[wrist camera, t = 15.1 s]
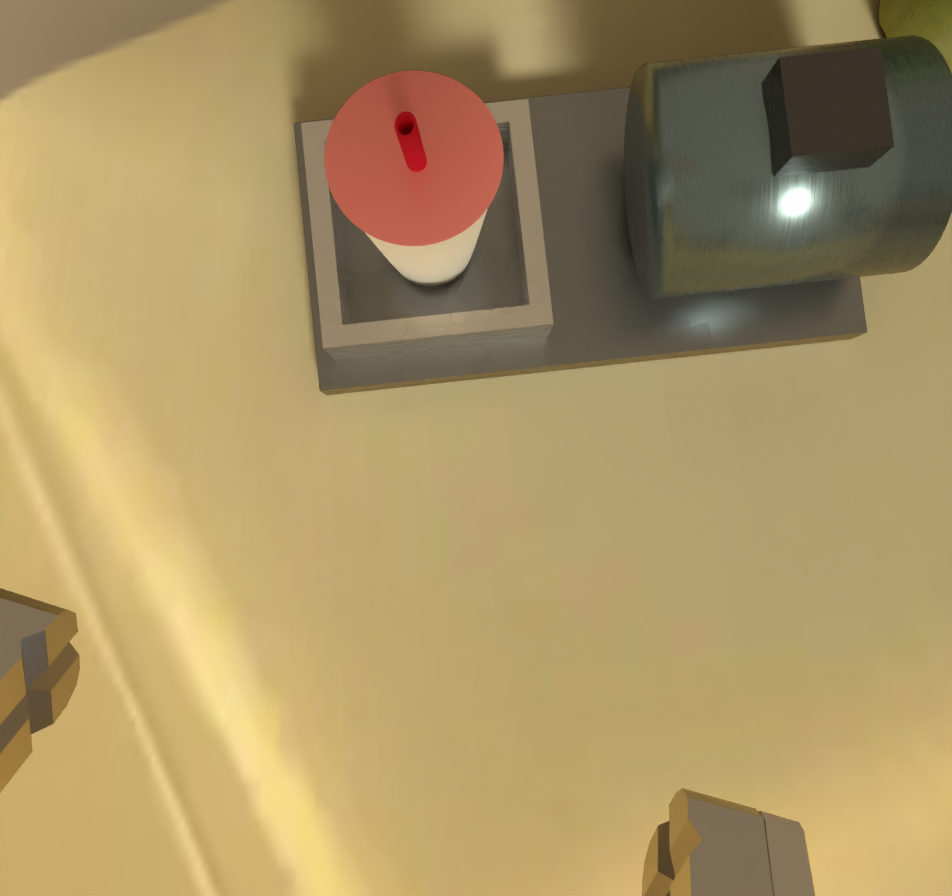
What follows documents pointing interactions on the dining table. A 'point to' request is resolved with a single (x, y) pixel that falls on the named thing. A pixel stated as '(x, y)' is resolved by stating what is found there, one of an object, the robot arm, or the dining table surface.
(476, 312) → the base
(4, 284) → the dining table surface
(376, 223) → the cup
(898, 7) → the plant pot
